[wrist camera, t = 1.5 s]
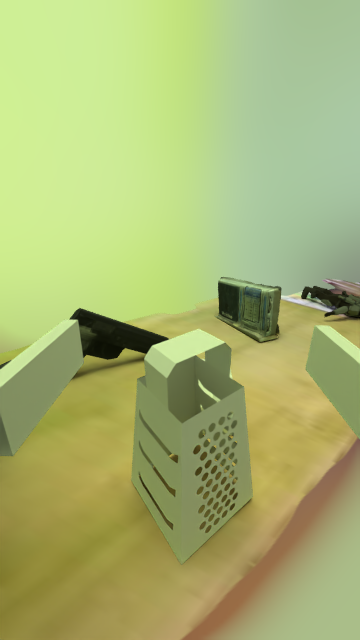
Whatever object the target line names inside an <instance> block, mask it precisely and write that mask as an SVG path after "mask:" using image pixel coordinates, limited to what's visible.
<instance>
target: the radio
mask: <svg viewBox="0 0 360 640" xmlns="http://www.w3.org/2000/svg"><path fill="white" fill-rule="evenodd" d="M218 293H219V316H215V317H216V318H218V319H220V320H222V321H223V322H225V323H227V324H229V325H231V326H232V327H234V328H236V329H238V330H240V331H241V332H243V333H245V334H247V335H248V336H250V337H252V338H254V339H256V340H257V341H259V342H262V341H266V340H271V339H275V338H278V335H277V334H279V326H278V324H277V322H278V315H279V306H280V299H281V287H277V286H276V287H272V286H266V285H262V284H254V283H251V282H248V281H243V280H237V279H234V278H228V277H221V279H220V280H219V282H218Z"/></svg>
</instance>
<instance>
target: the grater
mask: <svg viewBox="0 0 360 640" xmlns="http://www.w3.org/2000/svg"><path fill="white" fill-rule="evenodd" d="M204 351H205V361H203V360H202V359H200V358H199V357H197V356H196V355H197V354H200V353H202V352H204ZM144 364H145V376H143V377H140V378H138V379H137V396H136V412H135V429H134V445H133V462H132V478H131V481H132V482H133V484H134V486H135V487H136V489H137V491H138V492H139V494H140V496H141V497H142V499H143V501H144V503H145V504H146V506H147V508H148V509H149V511H150V513H151V514H152V516H153V518H154V519H155V521H156V523H157V525H158V526H159V528H160V530H161V531H162V533H163V535H164V536H165V538H166V540H167V541H168V543H169V545H170V547H171V548H172V550H173V552H174V553H175V555H176V557H177V558H178V560H179V562H180V563H181V565H182V564H183V563H184V562H185V561H186V560H187V559H188V558H189V557H190V556H191V555H192V554H193V553H194V552H195V551H197V550H198V549H199V548H200V547H201V546H202V545H203V544H204V543H205V542H206V541H207V540H208V539H209V538H210V537H211V536H212V535H213V534H214V533H215V532H216V531H217V530H218V529H220V528H221V527H222V526H223V525H224V524H225V523H226V522H227V521H228V520H229V519H230V518H231V517H232V516H233V515H234V514H235V513H236V512H237V511H238V510H239V509H240V508H241V507H242V506H244V505H245V504H246V503H247V502H248V501H249V500H250V499H251V498H252V497H253V492H252V480H251V467H250V455H249V443H248V430H247V418H246V406H245V393H244V386H242V385H241V384H239V383H237V382H236V381H234V380H233V379H231V378H230V364H231V348H230V347H229V346H228V345H227V344H226V343H225V342H223V341H222V340H220V339H218V338H216V337H214V336H212V335H210V334H208V333H206V332H204V331H202V330H200V329H197V330H194V331H192V332H189V333H186V334H183V335H180V336H178V337H175V338H172V339H169V340H167V341H164V342H161V343H158V344H155V345H153V346H151V348H150V350H149V351H148V353H147V355H146V356H145V358H144ZM198 380H199V381H200V382H201V384H202V385H203V387H204V388H205V389H207V390H208V391H209V392H211V393H212V394H213V395H214V396H216V397H217V398H218V399H220V400H221V401H219V402H217V401H215V400H214V399H213V398H211V397H210V396H209V395H208V394H206V393H205V392H204V391H203V390H202V389H201V387H200V386H199V382H198ZM201 406H202V407H203V409H204V411H202V410H201ZM230 411H233V412H234V413H233V414H232V413H231V412H230ZM214 423H215V424H216V425H215V424H214ZM218 423H219V424H220V425H221V426H220V425H218ZM223 429H226V430H227V431H228V432H227V433H225V432H223ZM203 431H204V432H205V436H204V435H203ZM229 434H231V435H233V436H234V437H233V439H231V438H230V437H229ZM208 438H209V439H210V440H211V442H209V441H208V440H207V439H208ZM235 441H237V443H236V442H235ZM197 445H200V446H201V450H200V452H199V453H198V454H196V455H195V454H194V453H193V450H194V448H195V447H196V446H197ZM213 445H216V446H217V448H215V447H214V446H213ZM205 451H206V452H207V457H206V458H205V459H204V460H203V461H201V460H200V456H201V454H202V453H203V452H205ZM223 452H224V453H225V454H226V455H223ZM210 453H211V454H210ZM171 454H175V455H178V464H177V463H176V462H174V461H173V460H171V459H170V457H169V455H171ZM228 457H229V458H230V459H231V460H230V461H229V460H228ZM214 458H215V459H216V460H217V461H215V460H214ZM208 460H211V461H212V464H211V465H210V467H209V468H207V469H206V468H205V464H206V462H207V461H208ZM232 462H234V463H235V464H236V465H235V466H233V465H232ZM220 464H221V465H222V466H223V467H220ZM215 465H216V466H217V470H216V472H215V473H214V474H211V469H212V468H213V467H214V466H215ZM153 466H155V467H156V469H157V470H158V471H159V473H160V474H161V476H162V477H163V478H164V480H165V481H166V483H167V484H168V485H169V487H171V488H173V489H175V490H176V494H175V497H174V496H173V495H172V494H171V493H170V492H169V491H168V490H167V488H166V487H165V485H164V484H163V483H162V481H161V480H160V478H159V477H158V475H157V474H156V473H155V471H154V470H153ZM198 467H202V468H203V469H202V472H201V473H200V474H199V475H198V476H196V475H195V471H196V470H197V468H198ZM224 469H226V470H227V471H228V472H227V473H224ZM206 472H208V474H209V475H208V478H207V479H206V480H205V481H202V480H201V479H202V476H203V475H204V473H206ZM218 472H222V474H221V477H220V478H219V479H218V480H216V479H215V476H216V474H217V473H218ZM229 474H231V475H232V478H229ZM139 475H141V478H142V480H143V482H144V484H145V485H146V487H147V488H148V490H149V492H150V493H151V495H152V496H153V498H154V500H155V501H156V503H157V504H158V506H159V507H160V509H161V511H162V512H163V514H164V515H165V517H166V519H167V520H168V521H170V522H171V523H172V524H173V530H172V529H171V528H170V527H169V526H168V525H167V524H166V522H165V520H164V519H163V517H162V516H161V514H160V512H159V511H158V509H157V507H156V506H155V504H154V503H153V501H152V499H151V498H150V496H149V495H148V493H147V491H146V490H145V488H144V487H143V485H142V483H141V480H140V478H139ZM224 477H227V480H226V482H225V483H224V484H223V485H221V480H222V479H223V478H224ZM234 478H235V479H236V480H237V482H236V483H235V484H234V485H233V484H232V481H233V479H234ZM209 479H213V482H212V484H211V486H210V487H206V483H207V481H208V480H209ZM228 483H230V487H229V489H228V490H227V491H224V488H225V486H226V485H227V484H228ZM215 484H218V488H217V490H216V491H215V492H212V488H213V486H214V485H215ZM201 486H203V487H204V490H203V492H202V493H201V494H199V495H197V490H198V488H199V487H201ZM232 488H235V491H234V493H233V494H232V495H231V496H230V495H229V492H230V490H231V489H232ZM220 490H222V494H221V496H220V497H219V498H216V495H217V493H218V492H219V491H220ZM207 491H209V492H210V494H209V496H208V497H207V499H205V500H204V499H203V495H204V494H205V492H207ZM236 492H238V496H237V498H236V499H235V500H233V499H232V498H233V495H234V494H235V493H236ZM226 494H227V499H226V500H225V501H224V502H221V500H222V497H223V496H224V495H226ZM212 497H213V498H214V501H213V503H212V504H211V505H210V506H208V505H207V502H208V501H209V499H210V498H212ZM228 499H230V500H231V501H230V504H229V505H228V506H227V507H225V503H226V501H227V500H228ZM216 502H219V505H218V507H217V508H216V509H215V510H213V506H214V504H215V503H216ZM233 503H235V507H234V508H233V510H231V511H230V510H229V509H230V506H231V505H232V504H233ZM202 505H205V509H204V511H203V512H202V513H200V514H199V513H198V510H199V508H200V507H201V506H202ZM221 506H223V509H222V511H221V512H220V513H219V514H217V510H218V508H219V507H221ZM208 509H210V510H211V512H210V514H209V515H208V517H206V518H205V517H204V514H205V512H206V511H207V510H208ZM225 510H228V512H227V515H226V516H225V517H224V518H222V514H223V512H224V511H225ZM211 514H215V516H214V518H213V520H212V521H210V522H209V521H208V519H209V517H210V515H211ZM218 517H219V518H220V520H219V522H218V523H217V524H216V525H214V521H215V520H216V518H218ZM204 521H206V525H205V527H204V528H203V529H202V530H200V529H199V528H200V525H201V524H202V522H204ZM209 525H212V527H211V530H210V531H209V532H208V533H205V530H206V528H207V527H208V526H209Z"/></svg>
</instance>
